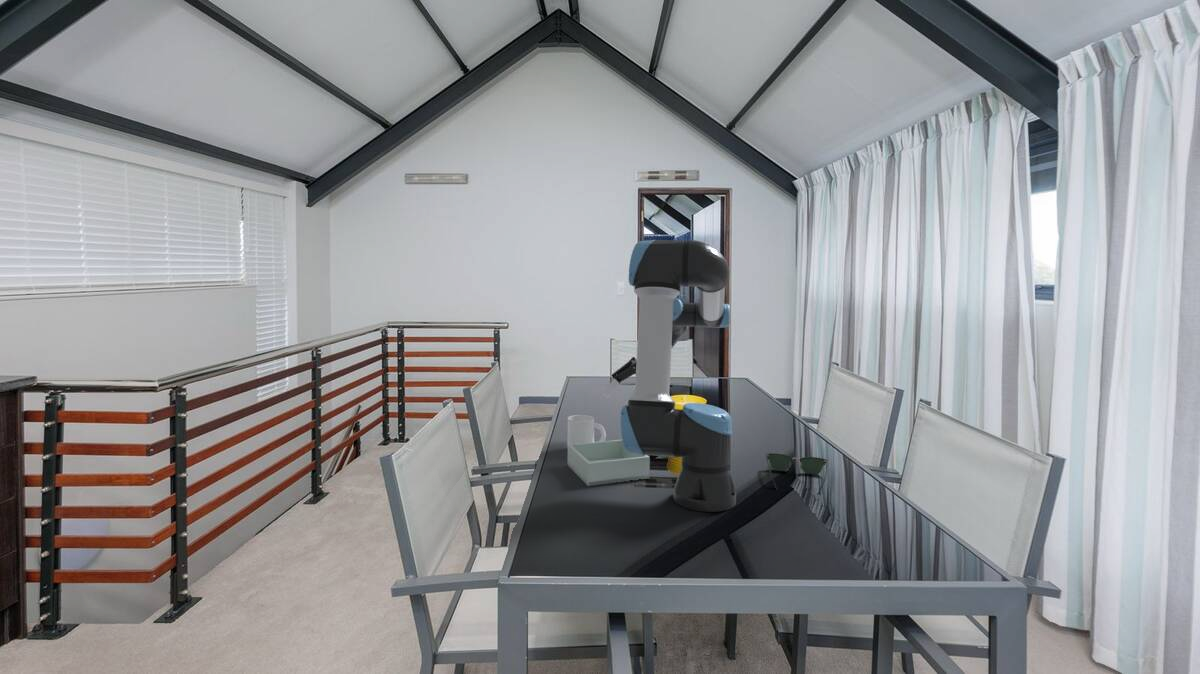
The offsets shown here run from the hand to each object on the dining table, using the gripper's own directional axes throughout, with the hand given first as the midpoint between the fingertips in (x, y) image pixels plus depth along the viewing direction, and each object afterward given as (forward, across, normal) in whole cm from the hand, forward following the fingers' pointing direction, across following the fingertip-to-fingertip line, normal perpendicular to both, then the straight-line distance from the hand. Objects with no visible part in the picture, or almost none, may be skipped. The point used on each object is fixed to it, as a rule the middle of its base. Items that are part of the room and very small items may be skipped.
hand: (616, 400), depth 187 cm
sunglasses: (-7, -51, -29) cm, 59 cm away
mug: (+18, 0, -3) cm, 18 cm away
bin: (+21, -20, 0) cm, 29 cm away
